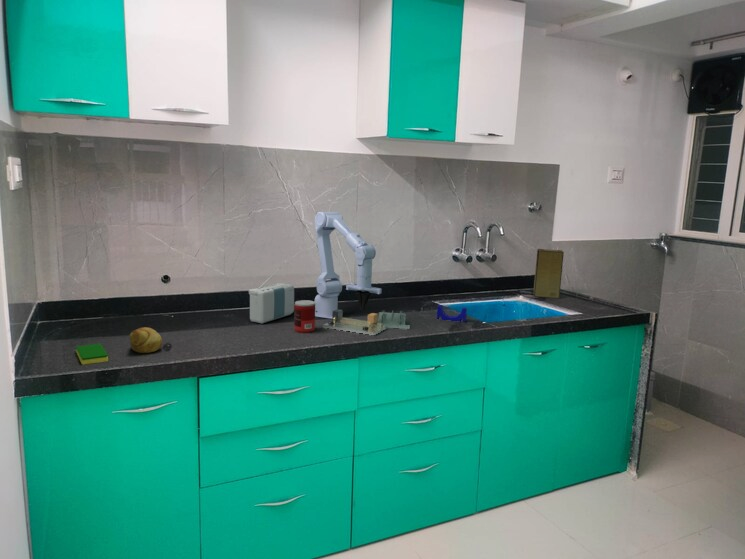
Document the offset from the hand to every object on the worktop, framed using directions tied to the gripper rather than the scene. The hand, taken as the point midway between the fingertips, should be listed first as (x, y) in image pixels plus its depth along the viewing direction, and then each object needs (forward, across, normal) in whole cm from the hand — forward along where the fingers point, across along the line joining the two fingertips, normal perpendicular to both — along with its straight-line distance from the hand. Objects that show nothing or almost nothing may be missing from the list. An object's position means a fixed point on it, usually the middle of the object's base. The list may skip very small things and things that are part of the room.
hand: (362, 309), depth 220 cm
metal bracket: (+8, +9, +9) cm, 15 cm away
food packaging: (+7, +57, +112) cm, 126 cm away
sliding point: (+5, +5, -2) cm, 8 cm away
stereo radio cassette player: (+7, -37, -9) cm, 39 cm away
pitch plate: (+7, -1, -5) cm, 8 cm away
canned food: (+7, -16, -18) cm, 25 cm away
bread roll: (+7, -48, -65) cm, 81 cm away
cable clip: (+7, +28, +31) cm, 42 cm away
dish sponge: (+8, -56, -79) cm, 97 cm away
